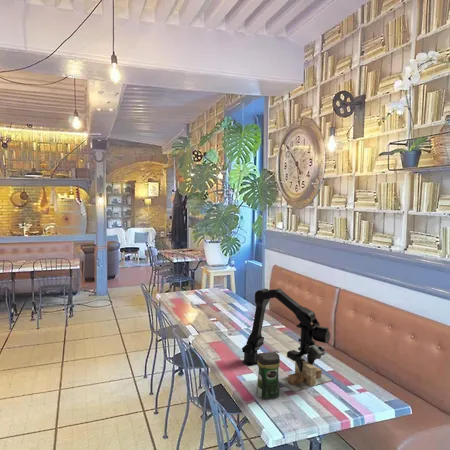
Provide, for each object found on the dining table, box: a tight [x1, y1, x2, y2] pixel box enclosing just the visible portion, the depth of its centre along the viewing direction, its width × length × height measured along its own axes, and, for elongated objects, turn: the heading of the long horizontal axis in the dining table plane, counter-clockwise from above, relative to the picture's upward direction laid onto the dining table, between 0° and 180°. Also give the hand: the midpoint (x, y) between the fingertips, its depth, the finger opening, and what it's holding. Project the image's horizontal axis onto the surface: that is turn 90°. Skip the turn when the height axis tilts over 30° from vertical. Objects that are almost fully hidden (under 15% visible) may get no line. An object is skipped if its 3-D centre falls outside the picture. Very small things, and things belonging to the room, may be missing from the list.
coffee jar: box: [255, 351, 281, 400], centre depth 160 cm, size 10×8×19 cm
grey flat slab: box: [278, 367, 334, 393], centre depth 175 cm, size 24×12×4 cm, turn 120°
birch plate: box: [294, 360, 317, 386], centre depth 175 cm, size 3×11×8 cm, turn 30°
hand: (305, 370), depth 175 cm, fingers open, 5 cm apart
